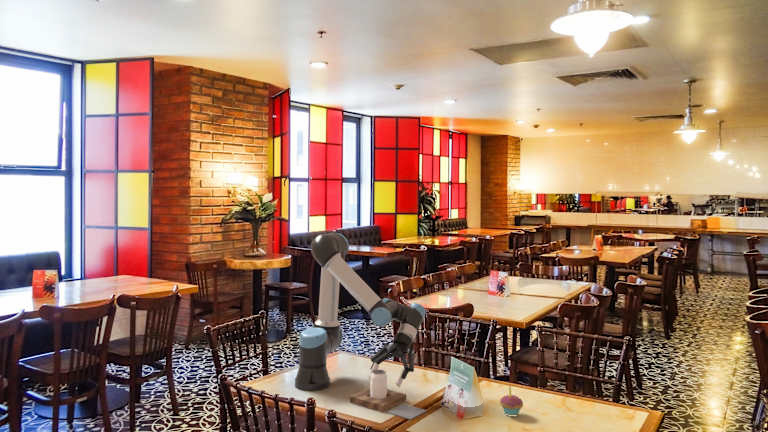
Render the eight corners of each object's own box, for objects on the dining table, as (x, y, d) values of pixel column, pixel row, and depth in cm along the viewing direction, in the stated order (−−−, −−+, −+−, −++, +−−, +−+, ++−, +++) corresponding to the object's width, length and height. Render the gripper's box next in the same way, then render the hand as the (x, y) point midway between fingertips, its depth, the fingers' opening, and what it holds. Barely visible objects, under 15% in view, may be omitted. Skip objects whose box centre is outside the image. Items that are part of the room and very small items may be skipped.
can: (384, 405, 224) (385, 374, 223) (368, 403, 225) (369, 373, 225) (387, 399, 230) (388, 369, 230) (372, 398, 231) (372, 368, 231)
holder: (349, 402, 226) (350, 396, 226) (374, 391, 239) (374, 385, 239) (382, 412, 216) (382, 405, 216) (406, 400, 229) (406, 394, 229)
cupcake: (518, 420, 211) (519, 388, 210) (496, 415, 215) (496, 384, 215) (525, 413, 218) (526, 382, 217) (504, 408, 222) (505, 378, 222)
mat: (386, 412, 216) (386, 411, 216) (403, 404, 225) (403, 403, 225) (410, 419, 209) (410, 418, 209) (426, 411, 218) (426, 410, 218)
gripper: (433, 346, 234) (413, 393, 223) (384, 337, 249) (362, 380, 237) (427, 336, 230) (406, 383, 218) (377, 327, 245) (355, 370, 233)
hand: (383, 381), depth 228 cm, fingers open, 13 cm apart
